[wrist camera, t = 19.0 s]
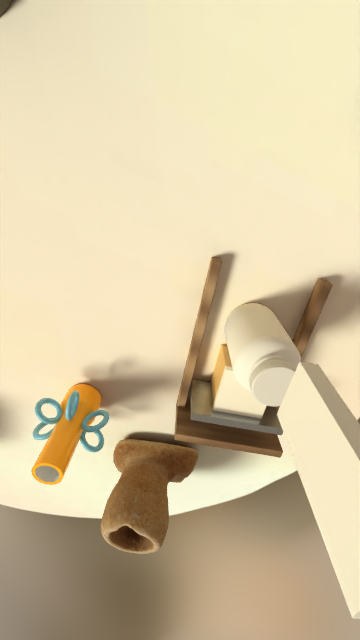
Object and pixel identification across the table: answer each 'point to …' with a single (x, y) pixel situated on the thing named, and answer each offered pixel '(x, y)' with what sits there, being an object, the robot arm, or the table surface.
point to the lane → (183, 424)
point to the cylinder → (67, 431)
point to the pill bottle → (261, 352)
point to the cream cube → (232, 390)
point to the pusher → (205, 413)
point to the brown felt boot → (143, 493)
